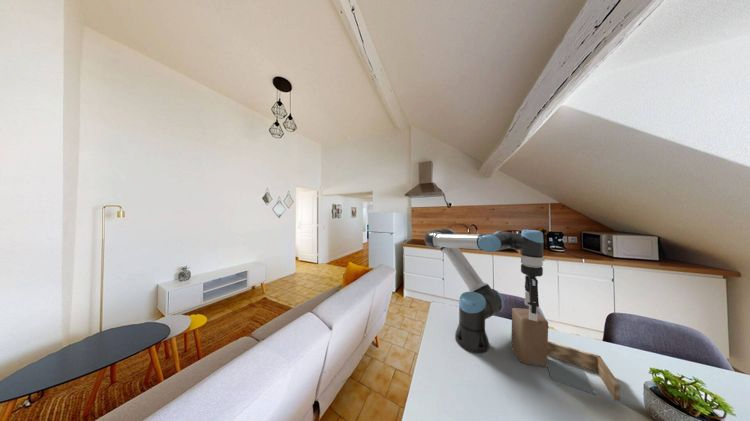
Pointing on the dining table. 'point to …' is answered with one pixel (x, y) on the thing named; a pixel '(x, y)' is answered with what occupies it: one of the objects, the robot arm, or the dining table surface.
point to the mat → (569, 376)
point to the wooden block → (529, 337)
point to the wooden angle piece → (586, 364)
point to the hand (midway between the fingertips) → (530, 312)
